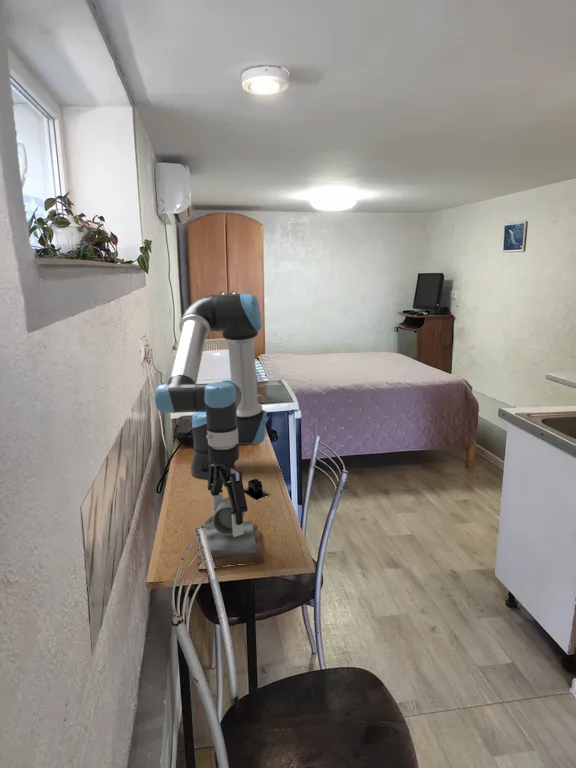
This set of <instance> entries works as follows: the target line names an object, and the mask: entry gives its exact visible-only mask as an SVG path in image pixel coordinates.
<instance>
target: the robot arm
mask: <svg viewBox="0 0 576 768" xmlns="http://www.w3.org/2000/svg"><path fill="white" fill-rule="evenodd" d="M178 328H179V331H180V335H179V338H178V342H177V345H176V350H175V354H174V358H173V362H172V365H171V369H170V373H169V377H168V382H167V383H164V384H159V385H158V386H157V387H156V388H155V392H154V393H155V394H154V403H155V407H156V409H157V410H158V411H159V413H167V414H169V413H170V414H177V413H193V415H192V417H191V418H192V419H191V427H192V439H193V440H192V441H193V448H194V449H193V451H194V452H193V456H192V461H191V463H190V474H191V475H192V476H193V477H194V478H197V479H203V480H205V479H206V480H207V490H208V491H210V494H211V496H212V497H211V500H212V513H213V515H214V513H215V511H216V509H217V507H218V505H219V503H220V502H221V501H222V500H223V499H224V495H223V493H224V490H223V487H225V488H226V490H227V494H228V497H229V498H230V502H231V505H232V508H233V512H231V514H232V530H233V536H234V537H236V536H239V535H242V534H244V528H243V522H244V519H243V512H245V513H246V512H248V505H247V504H248V503H247V498H246V493H244V489H245V488H244V484H243V473H242V471H237V470H236V466H235V463H236V461H238V460H239V459H240V448H239V447H240V446H239V444H240V445H241V444H243V445H244V444H248V445H249V444H251V445H253V444H261V443H262V442H264V441H265V435H266V425H267V410H265V409H263V406H262V404H261V403H259V401H258V399H259V398H258V391H257V390H258V388H257V387H258V386H257V371H256V355H255V342H254V341H255V339H256V337H258V336H259V331H261V330H263V329H262V328H263V322H262V314H261V309H260V304H259V301H258V297H256V295H254V294H249V293H247V294H246V293H229V294H227V293H226V294H208V295H204V296H202V297H200V298H198V299H196V300H195V301H193V302H192V303H191V304H190V305H189V306H188V307H187V308H186V309H185V311H184V312H183V314H182V315H181V318H180V321H179V326H178ZM211 332H222V334H221V335H222V338H223V339H224V340H225V341H227V347H228V358H229V359H228V361H229V373H230V380H229V379H225V380H222V381H217V382H212V383H211V382H210V383H209V382H208V383H198V382H197V381H198V377H199V371H200V368H201V363H202V362H201V361H202V357H203V352H204V348H205V340H206V339H207V337H208V336H209V335H210V333H211ZM213 515H212V516H213Z"/></svg>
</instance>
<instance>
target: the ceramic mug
mask: <svg viewBox="0 0 576 768" xmlns="http://www.w3.org/2000/svg"><path fill="white" fill-rule="evenodd" d="M231 512H233V508H232V505H231V502H230V498H229V496H228V497H225V498H223V500H222V501H221V502H220V503H219V505H218V507H217V509H216V511H215V513H214V515H211V516H209V517H208V518H207V519H206V520H205V521H204V522H203V528H204V527H205V529H206V530H212V529H216V530H217V531H218V532H219V533H221V534H224V535H232V534H233V530H232V514H231ZM245 513H246V512H243V520H244V517H245Z"/></svg>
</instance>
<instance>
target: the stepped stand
mask: <svg viewBox="0 0 576 768" xmlns="http://www.w3.org/2000/svg"><path fill="white" fill-rule="evenodd" d="M204 528H205V527H204V526H203V529H204ZM243 528H244V534H242V535H239V536H236V537H234V536H233V534H232V535H224V534H221V533H219V532H218V531H217V530H216V529H212V530H206V529H205V531H206V535H207V540H208V545H209V548H210V551H211V555H212V558H213V562H214V564H215V567H216V568H215V569H218V568H217V567H223V566H227V565H238V564H249V565H253V564H252V563H258V564H263V563H264V553H263V549H262V544H261V543H262V542H261V539H260V532H259V527H258V523H255V524H254V523H253V520H247V521H246V520H245V521H244V520H243ZM198 548H199V547H198V546H197V549H198ZM201 563H202V559H201V555H200V556H199V557H198V556H197V568H198V567H199V565H200V564H201ZM250 563H251V564H250ZM223 568H224V567H223Z"/></svg>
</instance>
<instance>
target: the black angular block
mask: <svg viewBox="0 0 576 768" xmlns="http://www.w3.org/2000/svg"><path fill="white" fill-rule="evenodd" d="M262 483H263V482H262V481H260V480H259V479H257V478H253V479H250V480H248V483H247V488H244V493H245V495H248V496H249V498H250V497H251V498H252V499H253V498H254V499H253V500H255V499H256V500H255V501H258V499H259V500H261V499H260V498H262V497H265V496H268V495H270V494H269V493H268V492H266V491H264V490H263V484H262ZM267 493H268V494H267ZM268 497H269V496H268ZM265 498H266V497H265ZM262 499H263V498H262Z"/></svg>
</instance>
